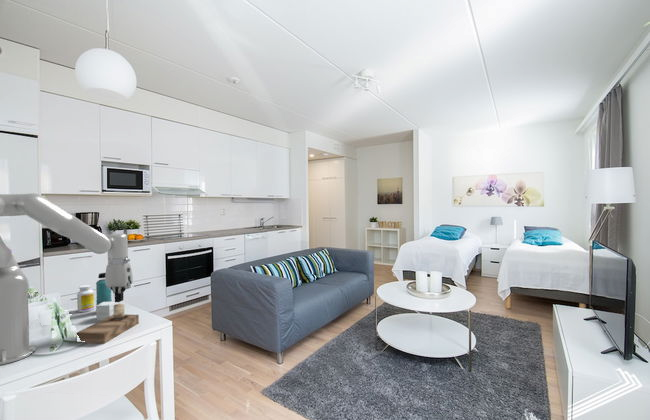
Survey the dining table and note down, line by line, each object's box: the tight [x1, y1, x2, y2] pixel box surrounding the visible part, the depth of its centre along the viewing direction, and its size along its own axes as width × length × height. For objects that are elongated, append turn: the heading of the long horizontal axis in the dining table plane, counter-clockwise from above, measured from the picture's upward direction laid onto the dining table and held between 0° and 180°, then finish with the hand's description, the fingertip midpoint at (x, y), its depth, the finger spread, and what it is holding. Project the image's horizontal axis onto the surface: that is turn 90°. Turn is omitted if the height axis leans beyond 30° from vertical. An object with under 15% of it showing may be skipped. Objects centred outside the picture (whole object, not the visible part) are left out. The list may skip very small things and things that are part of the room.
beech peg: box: [113, 303, 125, 321], centre depth 136 cm, size 4×4×10 cm
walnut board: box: [75, 313, 140, 344], centre depth 131 cm, size 20×12×4 cm, turn 176°
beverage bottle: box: [95, 272, 112, 306], centre depth 155 cm, size 6×7×20 cm
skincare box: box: [95, 300, 117, 322], centre depth 147 cm, size 6×6×7 cm
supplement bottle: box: [76, 284, 95, 313], centre depth 157 cm, size 7×7×13 cm
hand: (119, 301), depth 136 cm, fingers closed
